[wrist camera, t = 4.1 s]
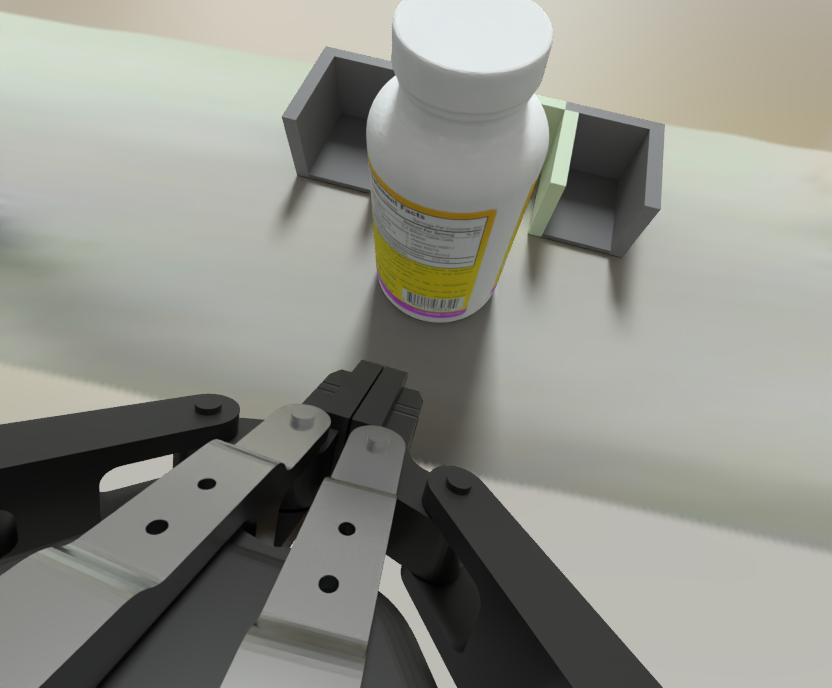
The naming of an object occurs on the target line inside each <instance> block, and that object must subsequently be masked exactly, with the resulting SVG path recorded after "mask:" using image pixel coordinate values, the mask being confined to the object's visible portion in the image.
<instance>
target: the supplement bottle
mask: <svg viewBox="0 0 832 688" xmlns="http://www.w3.org/2000/svg"><path fill="white" fill-rule="evenodd" d="M552 42H553V30H552V25H551V22H550V20H549V18H548V16H547V15H546V14H545V12H544V11H543V10H542V9H541V8H540V7H539V6H538V5H537V4H536V3H535V2H533V1H532V0H403V1H402V2H401V3H400V4H399V5H398V7H397V9H396V11H395V13H394V17H393V23H392V57H391V62H392V68H393V70H394V73H395V76H394V77H393V78H392V79H391V80H389V81H388V82H387V83H386V84H385V85H384V86H383V88H382V89H381V90H380V92H379V93H378V95H377V96H376V98H375V100H374V101H373V104H372V106H371V108H370V111H369V115H368V119H367V127H366V139H367V153H368V165H369V177H370V189H371V202H372V215H373V229H374V242H375V254H376V267H377V274H378V279H379V283H380V286H381V288H382V290H383V292H384V294H385V295H386V297H387V298H388V299H389V300H390V301H391V302H392V303H393V304H394V305H395V306H396V307H397V308H398V309H400V310H401V311H402V312H404V313H406V314H407V315H409V316H411V317H414V318H416V319H419V320H423V321H428V322H438V323H440V322H452V321H456V320H460V319H463V318H465V317H468V316H469V315H471V314H473V313H475V312H476V311H478V310H479V309H480V308H481V307H482V306H483V305H484V304H485V303H486V302H487V301H488V300H489V298H490V297H491V295H492V293H493V291H494V289H495V287H496V285H497V282H498V280H499V277H500V275H501V272H502V270H503V267H504V264H505V262H506V259H507V256H508V254H509V251H510V249H511V246H512V244H513V241H514V238H515V236H516V233H517V231H518V228H519V225H520V223H521V220H522V218H523V215H524V212H525V210H526V207H527V205H528V202H529V200H530V197H531V194H532V192H533V190H534V187H535V185H536V182H537V180H538V177H539V174H540V172H541V169H542V166H543V164H544V161H545V158H546V155H547V151H548V145H549V126H548V121H547V117H546V114H545V111H544V109H543V106H542V104H541V102H540V101H539V99H538V97H537V96H536V95H535V93H534V92H535V91H536V90H537V88H538V87H539V85H540V83H541V81H542V78H543V75H544V71H545V68H546V64H547V60H548V57H549V53H550V50H551V46H552Z"/></svg>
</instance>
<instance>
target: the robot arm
mask: <svg viewBox="0 0 832 688" xmlns="http://www.w3.org/2000/svg"><path fill="white" fill-rule="evenodd" d="M407 375H408V373H407V372H403V371H400V370H396V369H393V368H389V367H385V368H384V366H382V365H378V364H375V363H371V362H368V361H364V360H361V362H360V363H359V364H358V365H357V366H356V368H355V369H354V370H353V371H352V372H349V371H345V370H339V371H337V372H334V373H331V374H329V375H328V376H327V377H326V379H325V380H324V381H323V383H321V384H320V385H319V386H318V387H317V389H315V390H314V391H313V392H312V394H311V395H310V396H309V397H308V398H307V399H306V400H305V401H304V402H303V403H302V404H292V405H287V406H284V407H281V408H280V409H278V410H277V411H275V412H274V413H273V414H272V415H271V416H269V417H268V418H267V419H266V420H259V419H249V418H239V413H240V407H239V405H238V403H237V402H236V401H234V400H233V399H231V398H229V397H226V396H223V395H217V394H199V395H192V396H186V397H179V398H173V399H166V400H160V401H153V402H146V403H140V404H133V405H127V406H120V407H113V408H108V409H100V410H94V411H87V412H81V413H75V414H67V415H61V416H54V417H47V418H41V419H34V420H28V421H21V422H14V423H8V424H2V425H0V688H438V687H437V685H436V683H435V680H434V678H433V676H432V674H431V672H430V669H429V667H428V665H427V662H426V660H425V658H424V656H423V654H422V651H421V649H420V647H419V644H418V642H417V640H416V638H415V636H414V634H413V632H412V630H411V628H410V627H409V625H408V623H407V622H406V620H405V619H404V617H403V616H402V614H401V613H400V612H399V610H398V609H397V608H396V607H395V606H394V605H393V604H392V603H391V601H390V600H389V599H388V598H386V597H385V596H384V595H383V594H382V593H380V592H379V591H378V589H379V584H380V579H381V574H382V569H383V564H384V559H385V554H386V555H387V556H389V557H391V558H392V559H393V560H395V561H396V562H398V563H399V564H401V565H402V566H401V578H402V581H403V583H404V585H405V587H406V589H407V591H408V593H409V595H410V597H411V599H412V601H413V603H414V605H415V606H416V608H417V610H418V612H419V614H420V616H421V618H422V620H423V622H424V624H425V626H426V628H427V630H428V632H429V634H430V636H431V638H432V640H433V642H434V643H435V645H436V647H437V649H438V651H439V653H440V655H441V657H442V659H443V661H444V663H445V665H446V667H447V669H448V671H449V673H450V675H451V676H452V678H453V680H454V682H455V684H456V686H457V688H662V686H661V685H660V684H659V683H658V682H657V680H656V679H655V678H654V677H653V676H652V675H651V674H650V673H649V671H648V670H647V669H646V668H645V667H644V666H643V664H642V663H641V662H640V661H639V660H638V659H637V658H636V656H635V655H634V654H633V653H632V652H631V651H630V650H629V649H628V647H627V646H626V645H625V644H624V643H623V642H622V640H621V639H620V638H619V637H618V636H617V635H616V634H615V633H614V631H613V630H612V629H611V628H610V627H609V626H608V625H607V623H606V622H605V621H604V620H603V619H602V618H601V617H600V615H599V614H598V613H597V612H596V611H595V610H594V609H593V607H592V606H591V605H590V604H589V603H588V602H587V601H586V599H585V598H584V597H583V596H582V595H581V594H580V593H579V591H578V590H577V589H576V588H575V587H574V586H573V585H572V583H571V582H570V581H569V580H568V579H567V578H566V577H565V575H564V574H563V573H562V572H561V571H560V570H559V569H558V567H557V566H556V565H555V564H554V563H553V562H552V561H551V560H550V558H549V557H548V556H547V555H546V554H545V553H544V551H543V550H542V549H541V548H540V547H539V546H538V545H537V543H536V542H535V541H534V540H533V539H532V538H531V537H530V536H529V534H528V533H527V532H526V531H525V530H524V529H523V528H522V527H521V525H520V524H519V523H518V522H517V521H516V520H515V519H514V517H513V516H512V515H511V514H510V513H509V512H508V510H507V509H506V508H505V507H504V506H503V505H502V504H501V502H500V501H499V500H498V499H497V498H496V497H495V496H494V495H493V493H492V492H491V491H490V490H489V489H488V488H487V486H486V485H485V484H484V483H483V482H482V481H481V480H480V479H479V478H478V477H477V476H476V475H474V474H473V473H471V472H469V471H467V470H465V469H462V468H459V467H455V466H440V467H437V468H435V469H433V470H432V471H431V472H428V471H426V470H425V469H423V468H421V467H420V466H419V465H417V464H416V463H415V462H414V461H413V460H412V458H411V457H410V455H409V450H410V447H411V444H412V440H413V437H414V433H415V429H416V426H417V422H418V418H419V414H420V411H421V407H422V403H423V400H422V397H421V395H420V393H419V392H418V391H414V390H411V389H408V388H405V384H406V380H407ZM170 454H173V469H172V470H171V471H169V472H168V473H166V474H165V475H164V476H163V477H161V478H158V479H154V480H151V481H147V482H143V483H139V484H135V485H131V486H128V487H124V488H120V489H116V490H112V491H108V492H99V483H100V480H101V479H102V477H103V476H104V475H105V474H106V473H107V472H109V471H110V470H112V469H114V468H116V467H119V466H123V465H127V464H131V463H136V462H140V461H144V460H149V459H152V458H157V457H162V456H165V455H170ZM295 539H296V540H295ZM294 541H295V542H294ZM293 542H294V544H293ZM292 544H293V546H292V548H290V547H291V545H292Z"/></svg>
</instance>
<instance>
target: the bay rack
mask: <svg viewBox="0 0 832 688" xmlns="http://www.w3.org/2000/svg"><path fill="white" fill-rule="evenodd" d="M394 76H395V73H394V70H393V68H392V62H391V61H387V60H382V59H379V58H374V57H370V56H366V55H361V54H357V53H352V52H348V51H343V50H339V49H335V48H330V47H325V49H324V50H323V52H322V53H321V55H320V56H319V58H318V60H317V61H316V63H315V64H314V66H313V68H312V69H311V71H310V72H309V74H308V76H307V77H306V79H305V80H304V82H303V84H302V85H301V87H300V88H299V90H298V92H297V93H296V95H295V96H294V98H293V100H292V101H291V103H290V104H289V106H288V108H287V109H286V111H285V112H284V114H283V116H282V119H283V123H284V127H285V131H286V134H287V138H288V142H289V146H290V150H291V153H292V157H293V161H294V165H295V169H296V172H297V175H300V176H304V177H308V178H311V179H315V180H319V181H323V182H327V183H331V184H335V185H339V186H343V187H347V188H351V189H355V190H359V191H363V192H366V193H370V194H371V189H370V177H369V165H368V153H367V139H366V127H367V119H368V115H369V111H370V108H371V106H372V104H373V101H374V100H375V98H376V96H377V95H378V93H379V92H380V90H381V89H382V88H383V86H384V85H385V84H386V83H387V82H388V81H389V80H391V79H392V78H393V77H394ZM536 96H537V97H538V99H539V101H540V102H541V104H542V106H543V109H544V111H545V114H546V117H547V121H548V126H549V145H548V151H547V155H546V158H545V161H544V164H543V167H542V171H541V176H540V180H539V185H538V190H537V194H536V199H535V203H534V208H533V213H532V217H531V222H530V226H529V231H528V234H531V235H535V236H539V237H543V238H547V239H551V240H555V241H559V242H563V243H567V244H571V245H575V246H579V247H582V248H586V249H590V250H594V251H598V252H602V253H606V254H610V255H614V256H618V257H623V255H624V254H625V253H626V252H627V250H628V249H629V248H630V247H631V245H632V244H633V243H634V242H635V240H636V239H637V238H638V237H639V235H640V234H641V233H642V232H643V230H644V229H645V228H646V227H647V225H648V224H649V223H650V222H651V221H652V219H653V218H654V217H655V216H656V214H657V213H658V212H659V211H660V209H661V189H662V169H663V149H664V129H665V124H661V123H657V122H653V121H648V120H644V119H639V118H635V117H631V116H626V115H622V114H618V113H613V112H609V111H604V110H600V109H596V108H591V107H587V106H583V105H579V104H574V103H570V102H566V101H561V100H557V99H553V98H548V97H544V96H539V95H536Z"/></svg>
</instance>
